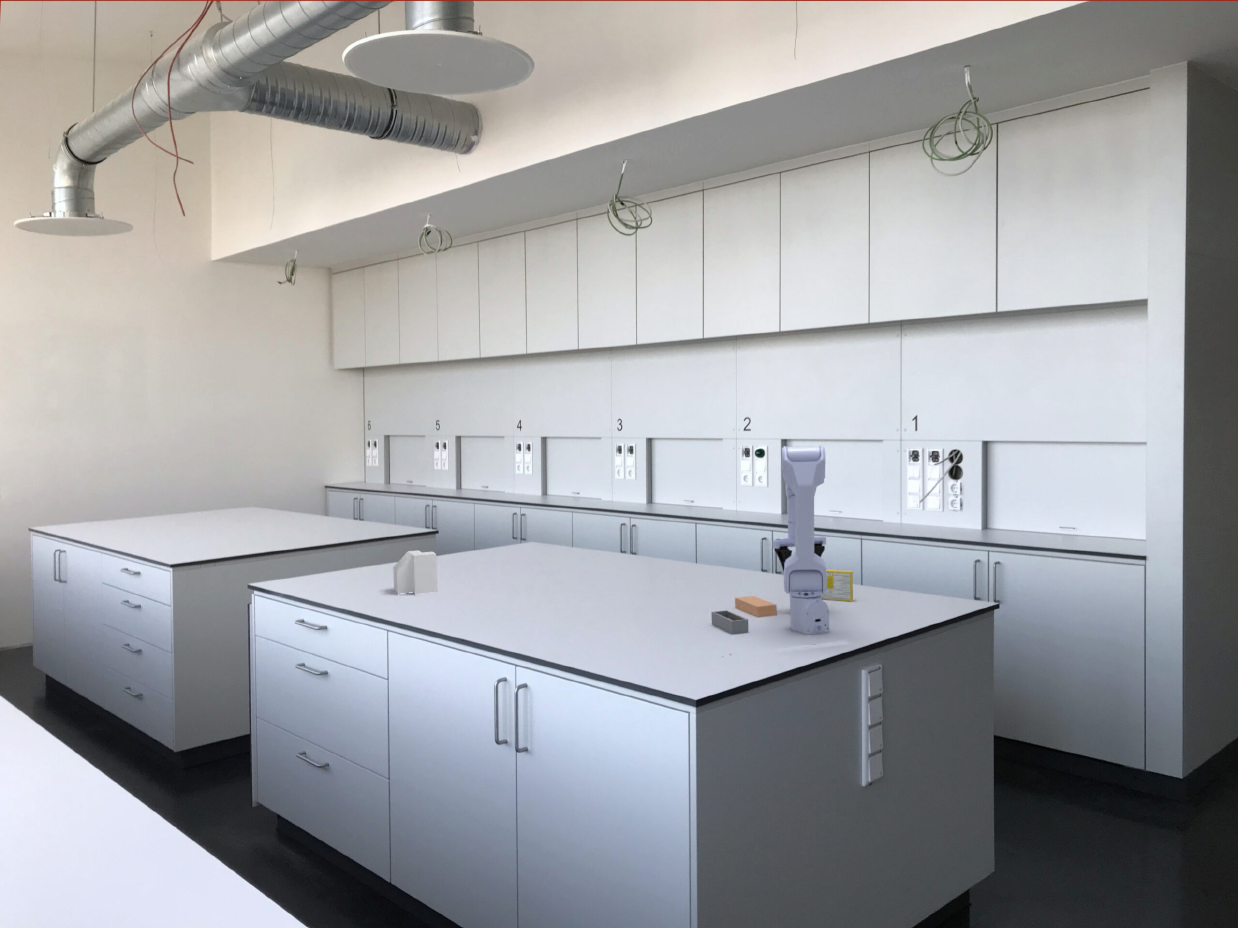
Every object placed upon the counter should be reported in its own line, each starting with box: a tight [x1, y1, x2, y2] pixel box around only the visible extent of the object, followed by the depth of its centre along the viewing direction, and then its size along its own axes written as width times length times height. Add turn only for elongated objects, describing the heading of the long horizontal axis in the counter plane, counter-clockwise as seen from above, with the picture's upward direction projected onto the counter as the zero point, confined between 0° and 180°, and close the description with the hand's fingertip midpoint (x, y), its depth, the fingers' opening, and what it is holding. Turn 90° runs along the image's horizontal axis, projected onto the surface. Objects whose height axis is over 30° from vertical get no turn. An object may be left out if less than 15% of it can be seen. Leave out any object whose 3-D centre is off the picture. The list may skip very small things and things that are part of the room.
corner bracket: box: [392, 550, 439, 595], centre depth 292 cm, size 11×11×12 cm
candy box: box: [821, 569, 854, 603], centre depth 264 cm, size 16×2×8 cm, turn 59°
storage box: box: [711, 609, 749, 635], centre depth 228 cm, size 11×4×4 cm, turn 19°
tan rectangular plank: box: [734, 595, 778, 618], centre depth 246 cm, size 13×5×4 cm, turn 19°
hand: (800, 574), depth 247 cm, fingers open, 7 cm apart
